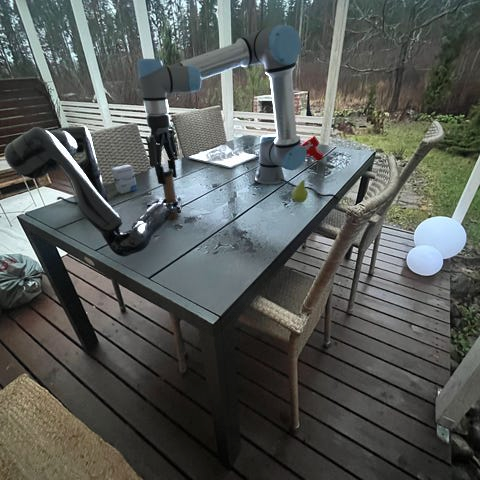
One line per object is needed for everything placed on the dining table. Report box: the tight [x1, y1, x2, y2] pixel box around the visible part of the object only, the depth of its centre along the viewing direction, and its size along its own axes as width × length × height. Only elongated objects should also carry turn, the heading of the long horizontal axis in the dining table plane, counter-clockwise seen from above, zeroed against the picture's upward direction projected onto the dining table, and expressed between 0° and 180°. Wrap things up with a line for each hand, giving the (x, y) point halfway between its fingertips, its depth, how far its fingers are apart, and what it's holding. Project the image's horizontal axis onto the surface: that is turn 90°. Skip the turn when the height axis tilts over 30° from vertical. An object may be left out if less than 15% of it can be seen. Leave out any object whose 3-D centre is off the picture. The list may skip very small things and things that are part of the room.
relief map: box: [188, 143, 257, 169], centre depth 179 cm, size 27×35×5 cm
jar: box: [162, 175, 179, 219], centre depth 106 cm, size 4×4×18 cm
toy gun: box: [301, 135, 324, 163], centre depth 172 cm, size 18×4×15 cm
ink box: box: [110, 164, 138, 195], centre depth 131 cm, size 8×5×12 cm, turn 135°
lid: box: [163, 167, 174, 176], centre depth 101 cm, size 5×5×2 cm
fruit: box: [291, 174, 311, 204], centre depth 118 cm, size 7×8×12 cm
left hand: (173, 198), depth 110 cm, fingers closed on jar, 4 cm apart
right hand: (167, 180), depth 103 cm, fingers open, 7 cm apart
